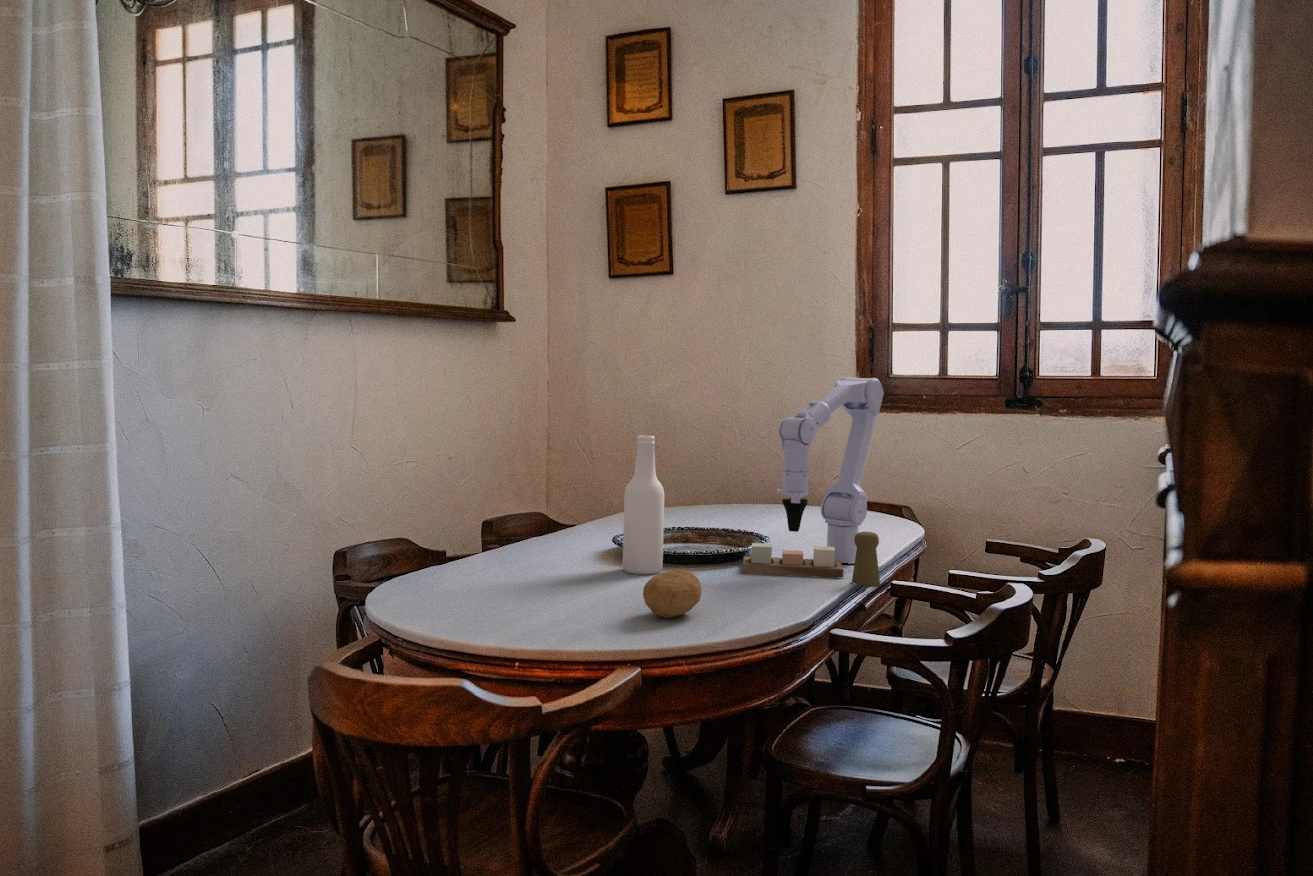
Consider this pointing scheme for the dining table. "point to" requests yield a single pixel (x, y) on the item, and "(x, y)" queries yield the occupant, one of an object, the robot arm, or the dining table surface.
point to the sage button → (761, 553)
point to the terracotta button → (792, 557)
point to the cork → (866, 559)
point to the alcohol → (643, 514)
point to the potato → (672, 593)
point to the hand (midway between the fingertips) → (793, 531)
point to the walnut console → (792, 568)
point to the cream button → (824, 556)
